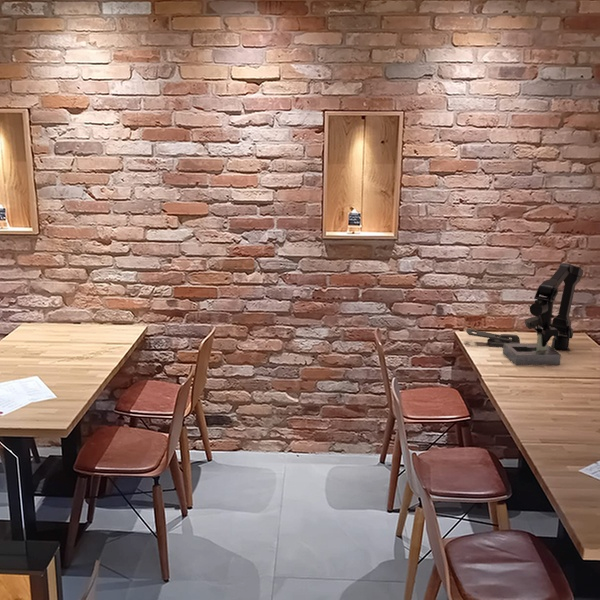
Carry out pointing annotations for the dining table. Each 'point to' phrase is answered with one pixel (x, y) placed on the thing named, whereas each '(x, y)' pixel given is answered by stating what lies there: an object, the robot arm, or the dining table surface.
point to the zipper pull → (495, 338)
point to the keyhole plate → (531, 354)
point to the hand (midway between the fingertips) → (541, 345)
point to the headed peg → (540, 344)
